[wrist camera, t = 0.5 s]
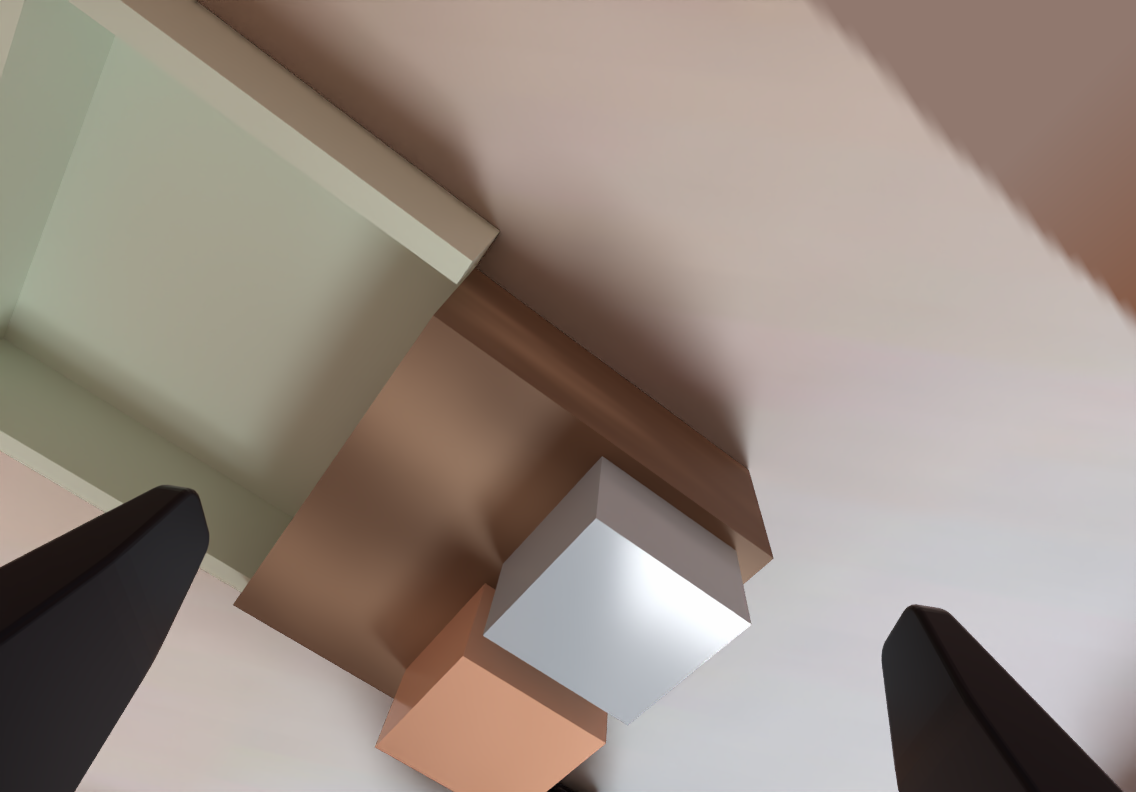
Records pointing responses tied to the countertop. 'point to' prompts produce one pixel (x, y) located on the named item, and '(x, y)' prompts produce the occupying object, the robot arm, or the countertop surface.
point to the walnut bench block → (474, 483)
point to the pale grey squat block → (618, 594)
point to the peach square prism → (487, 714)
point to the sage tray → (199, 265)
